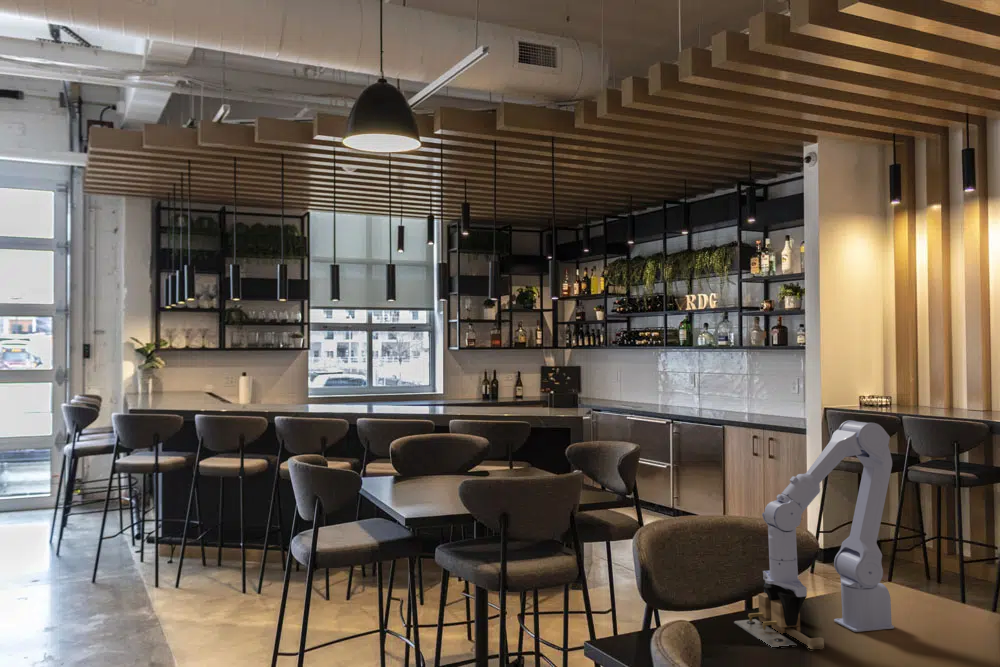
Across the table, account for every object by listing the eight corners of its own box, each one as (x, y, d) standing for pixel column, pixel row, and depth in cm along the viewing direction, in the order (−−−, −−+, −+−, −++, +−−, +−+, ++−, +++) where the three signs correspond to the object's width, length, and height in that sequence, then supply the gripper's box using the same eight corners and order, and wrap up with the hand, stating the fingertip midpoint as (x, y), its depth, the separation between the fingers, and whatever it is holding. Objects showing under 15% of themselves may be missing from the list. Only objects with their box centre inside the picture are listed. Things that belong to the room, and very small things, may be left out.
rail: (769, 616, 187) (768, 607, 187) (824, 649, 166) (823, 638, 166) (756, 617, 187) (756, 608, 187) (810, 650, 165) (810, 640, 165)
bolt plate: (755, 621, 184) (755, 618, 184) (796, 646, 168) (796, 643, 168) (734, 622, 183) (733, 620, 183) (772, 648, 167) (772, 645, 167)
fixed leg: (777, 619, 185) (776, 592, 185) (784, 623, 182) (783, 595, 182) (746, 621, 183) (744, 594, 184) (752, 626, 181) (751, 598, 181)
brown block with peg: (790, 626, 179) (789, 598, 180) (800, 632, 176) (799, 604, 176) (758, 629, 178) (757, 601, 178) (767, 635, 174) (766, 606, 174)
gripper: (749, 551, 184) (752, 613, 184) (783, 567, 170) (786, 634, 169) (778, 549, 185) (781, 611, 185) (814, 564, 171) (817, 631, 171)
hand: (785, 622), depth 177 cm, fingers closed on brown block with peg, 4 cm apart
